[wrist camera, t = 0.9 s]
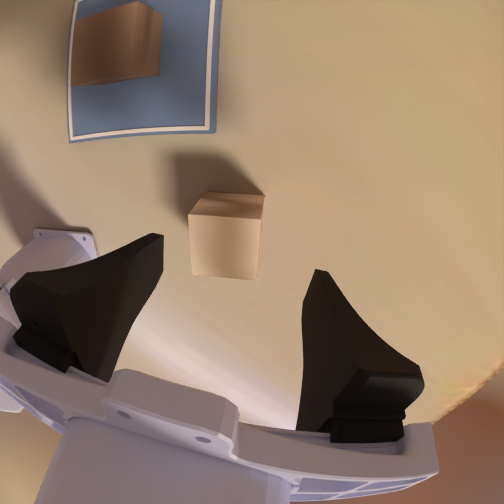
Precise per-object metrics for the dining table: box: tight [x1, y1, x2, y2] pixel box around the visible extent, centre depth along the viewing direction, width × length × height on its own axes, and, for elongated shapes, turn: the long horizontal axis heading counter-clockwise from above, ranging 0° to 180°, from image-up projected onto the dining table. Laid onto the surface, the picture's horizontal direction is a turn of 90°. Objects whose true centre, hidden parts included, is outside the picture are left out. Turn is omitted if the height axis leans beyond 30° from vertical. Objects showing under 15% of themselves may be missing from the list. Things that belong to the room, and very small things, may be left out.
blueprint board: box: [67, 0, 222, 144], centre depth 14 cm, size 13×14×5 cm
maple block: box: [188, 192, 265, 281], centre depth 21 cm, size 5×5×5 cm
